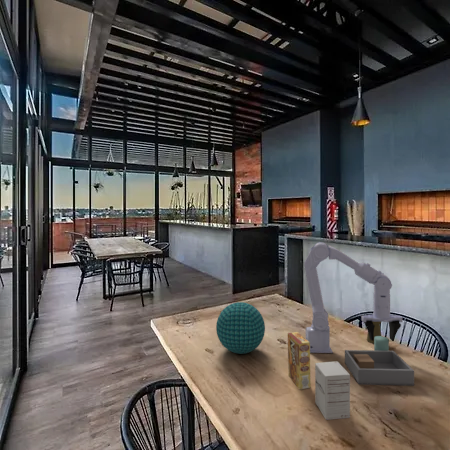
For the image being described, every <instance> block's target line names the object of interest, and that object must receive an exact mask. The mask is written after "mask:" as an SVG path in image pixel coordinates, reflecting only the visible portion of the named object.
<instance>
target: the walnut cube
mask: <svg viewBox="0 0 450 450" xmlns="http://www.w3.org/2000/svg"><path fill="white" fill-rule="evenodd" d="M354 361H355V362H356V364H357V365H358V366H359V368H366V369H374V361H373V360H372V359H371V357H370V356H369V355H368V354H354Z"/></svg>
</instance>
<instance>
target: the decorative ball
mask: <svg viewBox="0 0 450 450" xmlns="http://www.w3.org/2000/svg"><path fill="white" fill-rule="evenodd" d="M265 324H266V323H265V319H264V318H263V315H262V314H261V312H260V311H259V310H258V308H257V307H256V306H253V305H252V304H250V303H247V302H245V301H243V302H241V301H239V302H238V301H237V302H234V303H230V304H229V305H226V306H225V307H224V308H223V309H222V310H221V312H220V313H219V315H218V316H217V320H216V325H215V326H216V328H215V329H216V335H217V338H218V341H219V342H220V344H221V345H222V346H223V348H225V349H226V350H227V351H229V352H232V353H234V354H239V355H240V354H241V355H243V354H248V353H250V352H253V351H254V350H255V349H257V348H258V347H259V346H260V345H261V343H262V341H263V339H264V336H265V333H266V325H265Z"/></svg>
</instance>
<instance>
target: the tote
mask: <svg viewBox="0 0 450 450" xmlns="http://www.w3.org/2000/svg"><path fill="white" fill-rule="evenodd" d="M354 354H368V355H369V356H370V357H371V359H372V360H373V361H374V369H366V368H359V366H358V365H357V364H356V362H355V361H354ZM344 364H345V366H346V368H348V370H349V371H350V373H351V374H350V375H352V376H353V378H354V380H355V381H356V383H357V384H358V385H366V386H367V385H368V386H369V385H370V386H372V385H373V386H374V385H376V386H407V387H409V386H412V387H413V386H415V370H414V369H413V367H411V366H410V365H409V364H408V363H407V362H406V361H405V360H404V359H403V358H402V357H401V356H400V355H398V353H396V351H394V350H389V351H378V350H374V349H373V350H367V349H366V350H365V349H364V350H363V349H362V350H361V349H344Z"/></svg>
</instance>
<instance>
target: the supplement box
mask: <svg viewBox="0 0 450 450" xmlns="http://www.w3.org/2000/svg"><path fill="white" fill-rule="evenodd" d="M314 365H315V367H314V369H315V370H314V371H315V372H314V373H315V375H314V377H315V378H314V379H315V380H314V381H315V382H314V385H315V389H314V395H315V396H314V397H315V399H314V400H315V403H314V404H316V406H317V407H318V409H319V411H320V412H321V414H322V416H323V417H324V420H338V419H340V420H341V419H349V418H350V417H351V374H350V373H349V371H347V370H346V369H345V367H344V366H342V365H341V363H340V362H339V361H325V362H315V363H314Z"/></svg>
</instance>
